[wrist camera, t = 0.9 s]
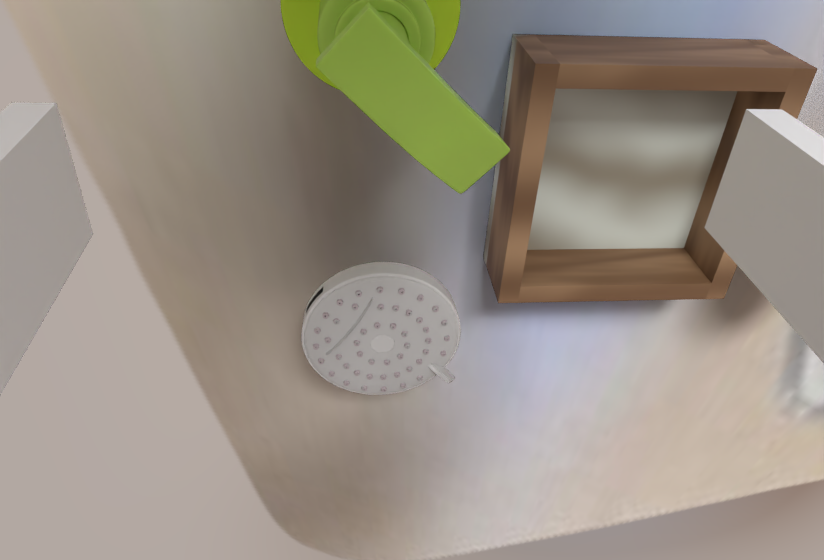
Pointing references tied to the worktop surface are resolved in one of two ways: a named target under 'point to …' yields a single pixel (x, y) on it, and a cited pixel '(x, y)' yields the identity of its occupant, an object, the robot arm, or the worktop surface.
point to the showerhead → (381, 329)
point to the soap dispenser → (398, 77)
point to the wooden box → (623, 162)
